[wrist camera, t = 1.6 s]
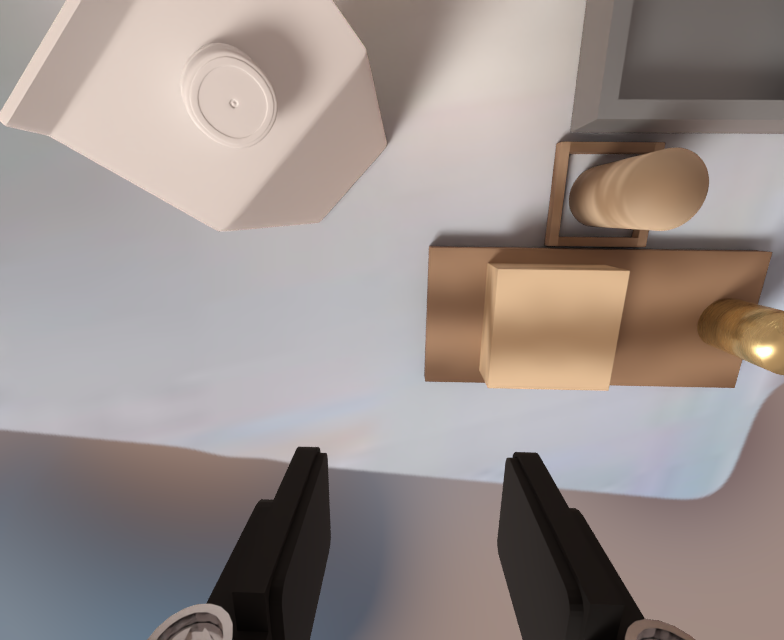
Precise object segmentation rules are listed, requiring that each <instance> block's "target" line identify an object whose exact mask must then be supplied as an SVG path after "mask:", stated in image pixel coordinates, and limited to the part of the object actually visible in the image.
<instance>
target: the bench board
mask: <svg viewBox="0 0 784 640" xmlns="http://www.w3.org/2000/svg"><path fill="white" fill-rule="evenodd" d="M771 255H772V252H767V251H757V250H680V249H600V248H520V247H441V246H429V262H428V289H427V317H426V344H425V372H424V376H425V381H429V382H477V383H485V381H484V379H483V377H482V375H481V373H480V371H479V366H480V354H481V341H482V328H483V315H484V303H485V290H486V277H487V264H488V263H514V264H588V265H608V266H612V267H616V268H620V269H624V270H628V271H630V274H629V280H628V285H627V291H626V296H625V302H624V307H623V313H622V318H621V324H620V329H619V335H618V340H617V346H616V351H615V357H614V362H613V368H612V373H611V379H610V384H609V385H621V386H670V387H718V388H735V384H736V381H737V377H738V373H739V370H740V366H741V363H742V359H740V358H738V357H736V356H733V355H731V354H729V353H726V352H724V351H722V350H719V349H717V348H715V347H712V346H710V345H708V344H706V343H704V342H703V341H702V340H701V338H700V337H699V335H698V330H697V325H698V321H699V318H700V316H701V314H702V313H703V311H704V310H705V309H706V308H707V307H708V306H709V305H711V304H712V303H714V302H716V301H718V300H721V299H725V298H734V299H738V300H742V301H746V302H750V303H754V304H758V302H759V298H760V295H761V291H762V288H763V284H764V280H765V277H766V273H767V270H768V266H769V262H770V259H771Z"/></svg>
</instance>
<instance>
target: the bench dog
mask: <svg viewBox="0 0 784 640" xmlns="http://www.w3.org/2000/svg"><path fill="white" fill-rule="evenodd" d="M697 330H698V335H699V337H700V338H701V340H702V341H703V342H704V343H706V344H708V345H710V346H712V347H715V348H717V349H719V350H722V351H724V352H726V353H729V354H731V355H733V356H736V357H738V358H740V359H743V360H745V361H747V362H750V363H752V364H755V365H757V366H759V367H762V368H764V369H766V370H769V371H771V372H773V373H776V374H780V375H784V311H782V310H778V309H774V308H770V307H766V306H762V305H758V304H754V303H750V302H746V301H742V300H738V299H734V298H725V299H721V300H718V301H716V302H714V303H712V304H711V305H709V306H708V307H707V308H706V309H705V310H704V311H703V313H702V314H701V316H700V318H699V321H698V325H697Z"/></svg>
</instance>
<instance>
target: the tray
mask: <svg viewBox="0 0 784 640" xmlns="http://www.w3.org/2000/svg"><path fill="white" fill-rule="evenodd" d="M570 132H574V133H754V134H784V0H587V2H586V10H585V17H584V25H583V33H582V41H581V49H580V57H579V65H578V73H577V81H576V89H575V97H574V105H573V113H572V121H571V129H570Z"/></svg>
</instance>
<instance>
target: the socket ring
mask: <svg viewBox="0 0 784 640" xmlns="http://www.w3.org/2000/svg"><path fill="white" fill-rule="evenodd" d="M664 148H665V142H560V143H557V144H556V152H555V160H554V169H553V177H552V186H551V195H550V203H549V212H548V220H547V229H546V237H545V245H547V246H602V247H646V243H647V237H648V232H649V230H639V229H633V232H632V237H560V236H559V231H560V223H561V215H562V207H563V199H564V191H565V183H566V175H567V167H568V160H569V154H647V153H651V152H655V151H659V150H663V149H664Z"/></svg>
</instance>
